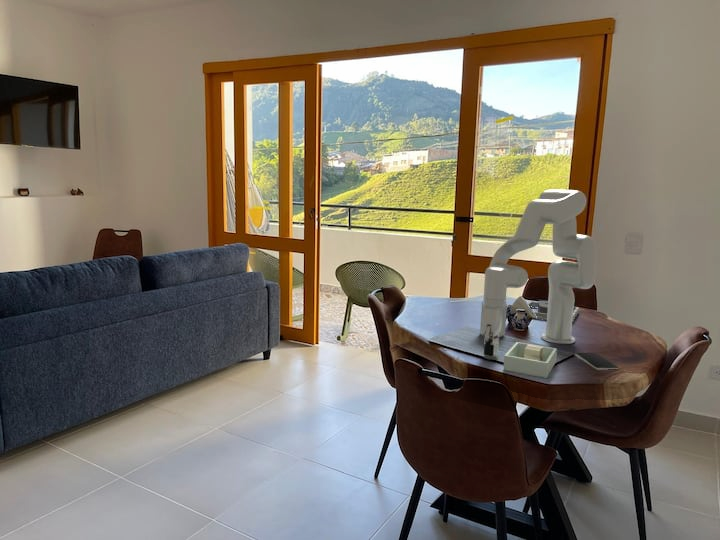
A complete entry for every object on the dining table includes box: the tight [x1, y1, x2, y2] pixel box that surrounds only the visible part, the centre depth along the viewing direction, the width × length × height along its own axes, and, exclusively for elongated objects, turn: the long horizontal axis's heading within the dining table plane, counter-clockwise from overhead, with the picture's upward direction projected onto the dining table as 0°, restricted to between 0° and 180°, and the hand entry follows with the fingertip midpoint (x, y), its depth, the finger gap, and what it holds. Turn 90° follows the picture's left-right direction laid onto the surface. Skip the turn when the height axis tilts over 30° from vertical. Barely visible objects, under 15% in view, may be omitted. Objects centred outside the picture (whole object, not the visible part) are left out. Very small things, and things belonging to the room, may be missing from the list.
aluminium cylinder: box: [482, 337, 500, 360], centre depth 184 cm, size 5×5×7 cm
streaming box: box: [536, 300, 548, 314], centre depth 247 cm, size 14×14×5 cm
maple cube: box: [524, 344, 543, 361], centre depth 179 cm, size 5×5×5 cm
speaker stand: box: [527, 301, 580, 323], centre depth 246 cm, size 23×23×3 cm
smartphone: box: [574, 352, 619, 371], centre depth 182 cm, size 8×1×15 cm
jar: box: [479, 301, 508, 338], centre depth 210 cm, size 10×10×18 cm
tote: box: [503, 341, 558, 379], centre depth 176 cm, size 18×14×5 cm
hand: (490, 352), depth 184 cm, fingers open, 5 cm apart
